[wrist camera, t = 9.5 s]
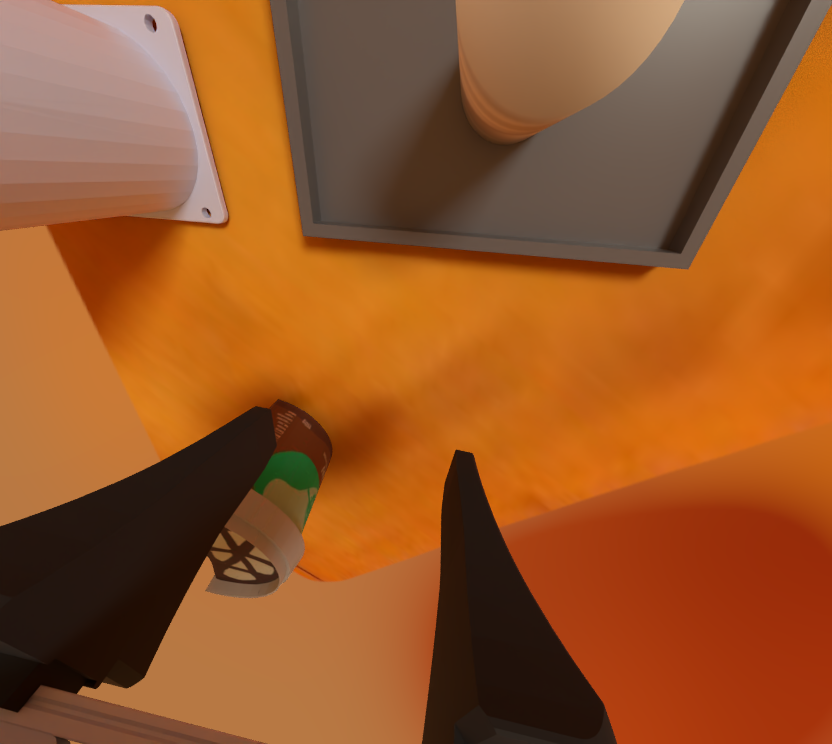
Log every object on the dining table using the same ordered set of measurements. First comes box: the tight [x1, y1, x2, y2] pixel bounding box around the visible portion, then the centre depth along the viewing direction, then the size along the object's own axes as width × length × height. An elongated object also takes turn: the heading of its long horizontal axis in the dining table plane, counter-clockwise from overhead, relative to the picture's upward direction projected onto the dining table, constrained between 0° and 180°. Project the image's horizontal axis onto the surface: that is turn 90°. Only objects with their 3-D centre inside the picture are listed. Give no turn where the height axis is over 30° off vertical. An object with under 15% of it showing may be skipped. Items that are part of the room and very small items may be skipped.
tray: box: [270, 0, 832, 269], centre depth 12 cm, size 18×12×2 cm, turn 87°
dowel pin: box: [456, 0, 684, 145], centre depth 8 cm, size 4×4×8 cm
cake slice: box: [206, 400, 332, 598], centre depth 23 cm, size 12×6×10 cm, turn 165°
